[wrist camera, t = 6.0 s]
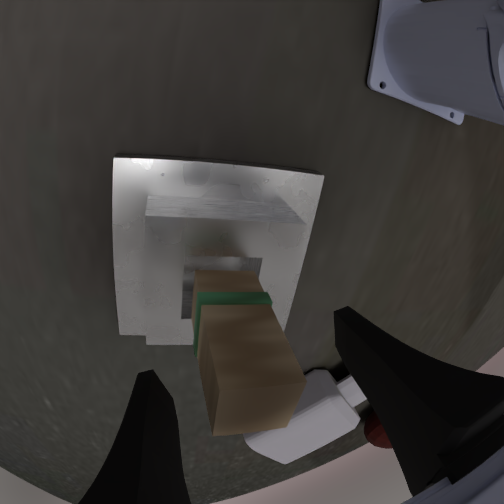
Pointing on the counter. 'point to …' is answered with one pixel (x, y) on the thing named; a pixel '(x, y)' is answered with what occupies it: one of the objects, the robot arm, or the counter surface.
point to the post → (242, 354)
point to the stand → (203, 235)
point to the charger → (312, 418)
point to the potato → (376, 432)
